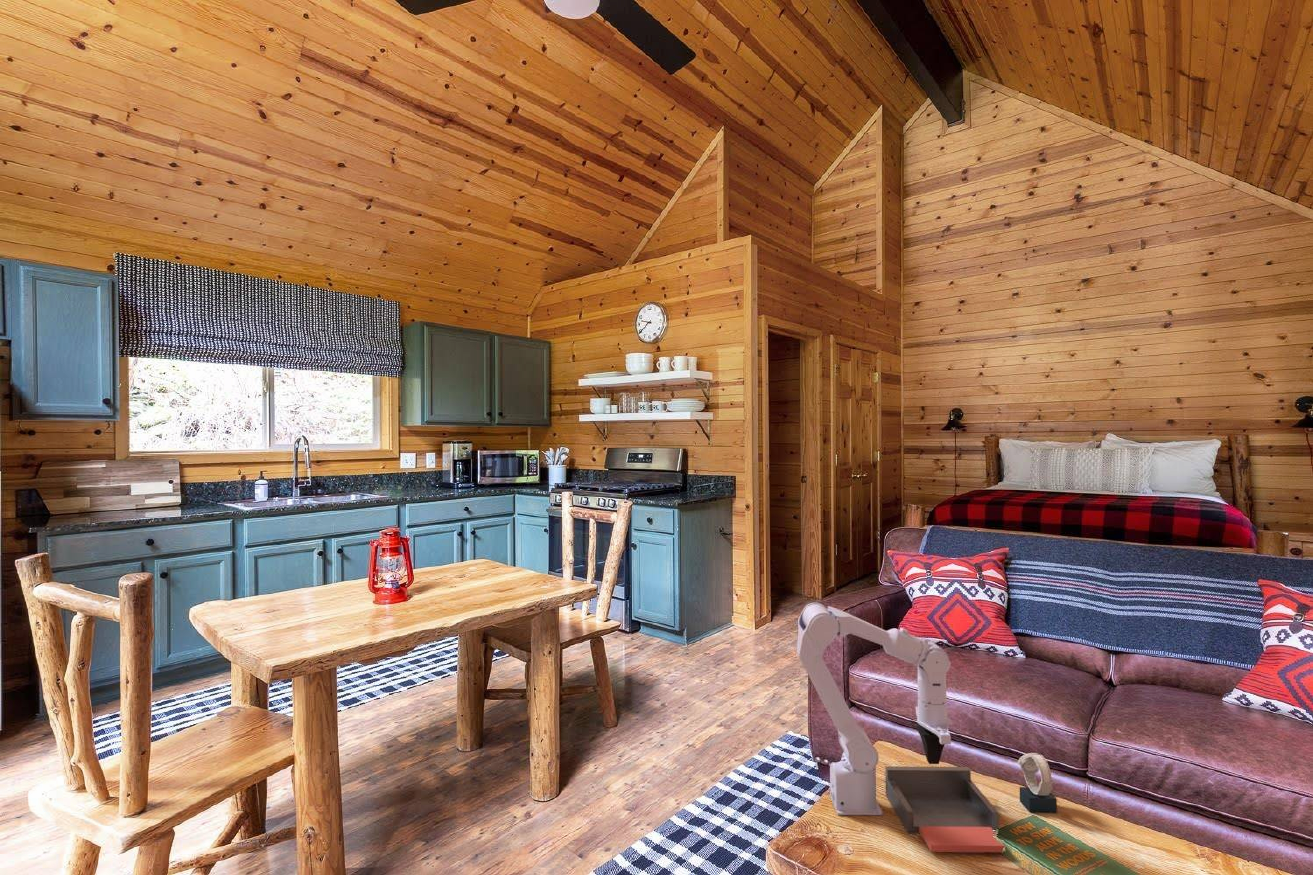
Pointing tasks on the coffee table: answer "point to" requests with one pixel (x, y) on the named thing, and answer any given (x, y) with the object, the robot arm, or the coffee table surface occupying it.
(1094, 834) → the coffee table surface
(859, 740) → the robot arm
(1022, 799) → the ring sculpture
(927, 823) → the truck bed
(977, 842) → the panel
